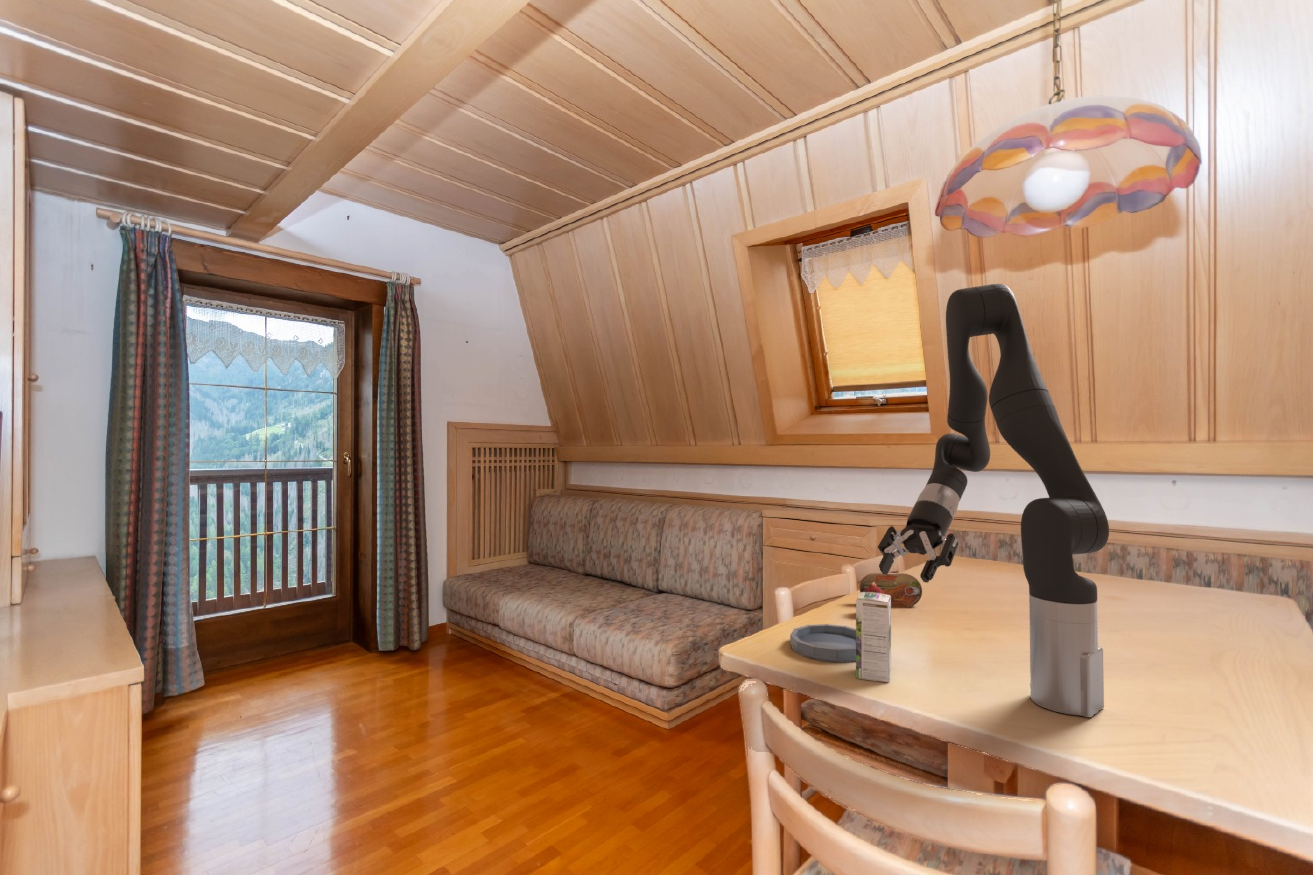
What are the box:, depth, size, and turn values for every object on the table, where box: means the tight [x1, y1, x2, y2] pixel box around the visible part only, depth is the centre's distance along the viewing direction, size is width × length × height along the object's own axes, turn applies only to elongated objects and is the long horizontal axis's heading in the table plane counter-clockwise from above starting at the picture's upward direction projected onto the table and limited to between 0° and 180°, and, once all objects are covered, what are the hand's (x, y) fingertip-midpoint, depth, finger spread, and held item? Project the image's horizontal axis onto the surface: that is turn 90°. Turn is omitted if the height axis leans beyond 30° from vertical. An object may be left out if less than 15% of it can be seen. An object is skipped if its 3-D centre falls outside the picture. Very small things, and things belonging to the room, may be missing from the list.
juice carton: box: [855, 591, 892, 683], centre depth 113 cm, size 6×6×14 cm
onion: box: [864, 582, 884, 594], centre depth 150 cm, size 6×6×8 cm
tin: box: [859, 572, 923, 608], centre depth 159 cm, size 15×3×8 cm, turn 81°
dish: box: [789, 623, 856, 663], centre depth 128 cm, size 16×16×2 cm
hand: (902, 575), depth 119 cm, fingers open, 8 cm apart
